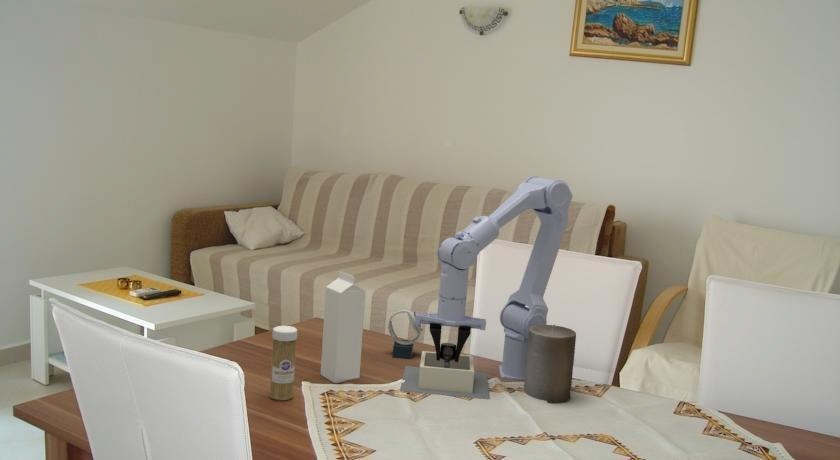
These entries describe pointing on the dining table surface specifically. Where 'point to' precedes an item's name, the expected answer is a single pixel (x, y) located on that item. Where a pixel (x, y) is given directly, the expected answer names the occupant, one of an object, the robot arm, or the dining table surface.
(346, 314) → the milk
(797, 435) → the dining table surface
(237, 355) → the dining table surface
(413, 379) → the slate mat
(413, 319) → the watch
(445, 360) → the plunger
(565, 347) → the pillar candle
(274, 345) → the sprinkles bottle
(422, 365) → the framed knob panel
